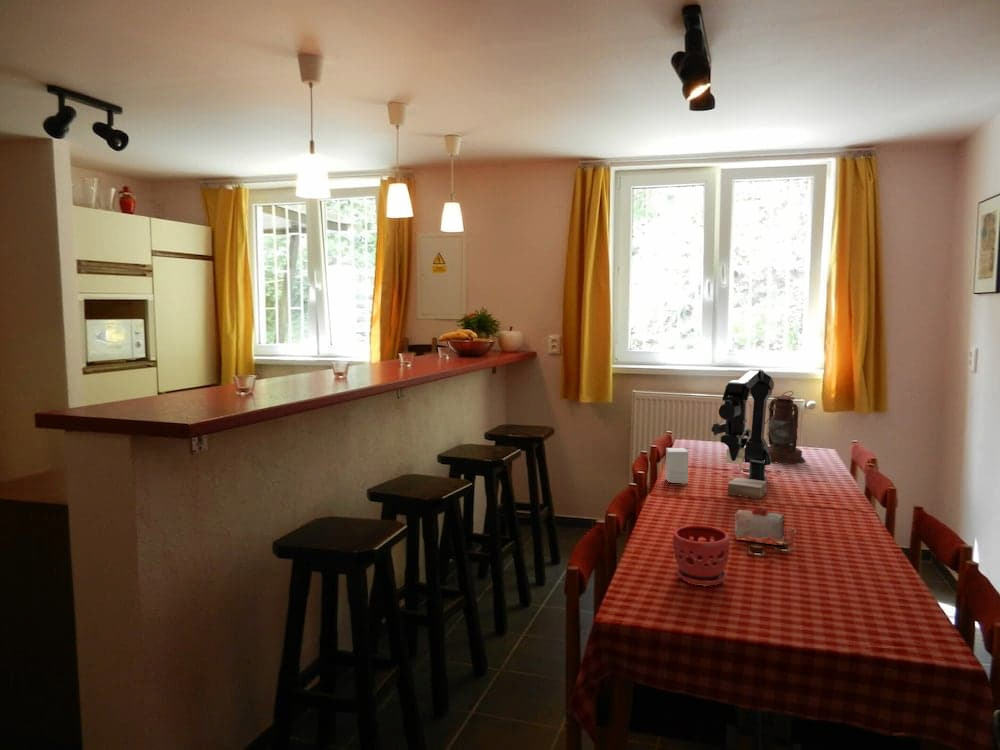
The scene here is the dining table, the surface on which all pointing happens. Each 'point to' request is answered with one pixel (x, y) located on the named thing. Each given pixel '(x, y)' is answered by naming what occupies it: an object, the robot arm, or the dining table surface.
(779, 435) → the lantern
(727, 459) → the birch cube
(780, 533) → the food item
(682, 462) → the supplement box
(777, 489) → the dining table surface
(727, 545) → the plant pot
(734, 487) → the beige flat block
